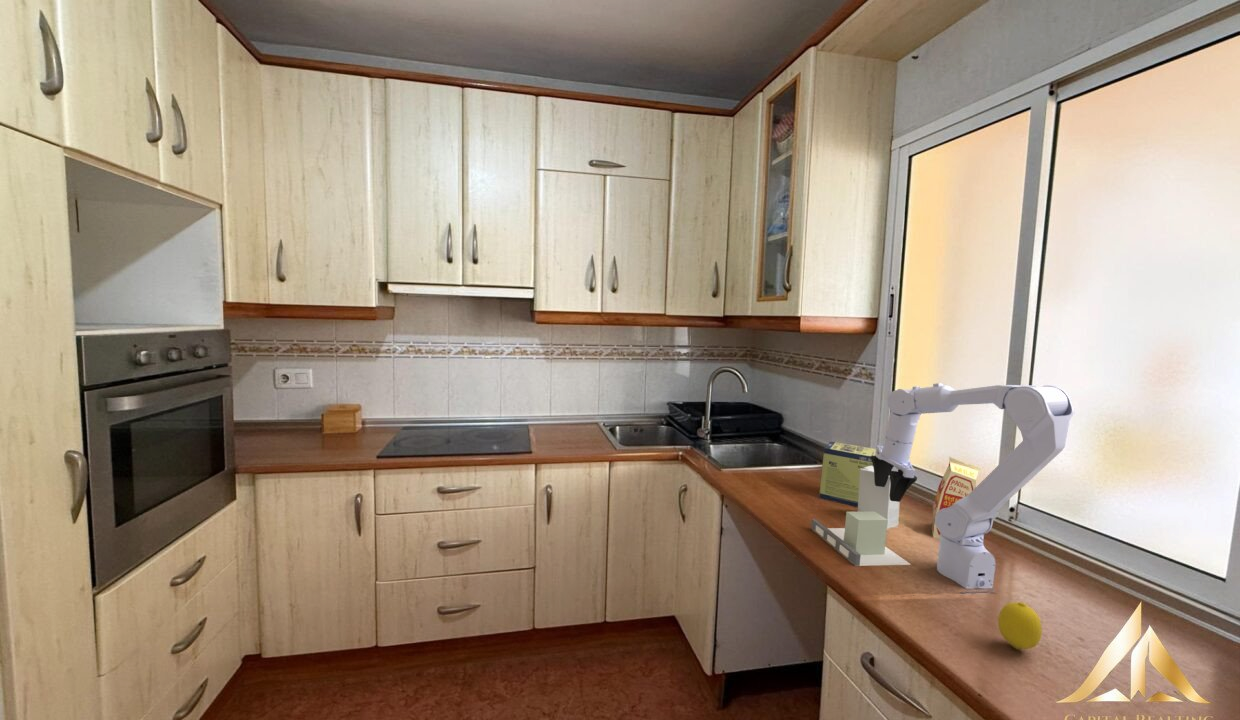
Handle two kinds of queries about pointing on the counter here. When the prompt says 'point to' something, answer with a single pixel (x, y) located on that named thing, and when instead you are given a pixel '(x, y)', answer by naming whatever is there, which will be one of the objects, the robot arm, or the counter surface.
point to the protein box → (843, 471)
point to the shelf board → (837, 541)
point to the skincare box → (876, 497)
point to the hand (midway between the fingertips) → (886, 493)
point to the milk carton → (954, 487)
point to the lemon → (1020, 625)
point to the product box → (866, 532)
